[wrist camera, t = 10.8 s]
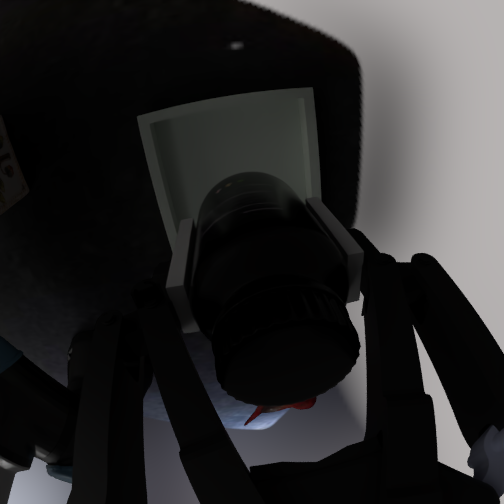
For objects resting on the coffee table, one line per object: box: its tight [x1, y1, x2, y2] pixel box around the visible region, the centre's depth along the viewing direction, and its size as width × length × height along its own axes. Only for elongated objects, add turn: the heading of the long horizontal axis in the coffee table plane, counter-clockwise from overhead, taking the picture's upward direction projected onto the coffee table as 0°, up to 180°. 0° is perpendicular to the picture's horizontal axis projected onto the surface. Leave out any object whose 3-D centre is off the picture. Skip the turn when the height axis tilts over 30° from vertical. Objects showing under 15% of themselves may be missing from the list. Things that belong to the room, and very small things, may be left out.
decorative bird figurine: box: [244, 397, 316, 426], centre depth 44 cm, size 3×18×10 cm, turn 141°
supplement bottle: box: [189, 172, 361, 407], centre depth 14 cm, size 7×7×12 cm
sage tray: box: [137, 87, 321, 252], centre depth 28 cm, size 16×16×3 cm
